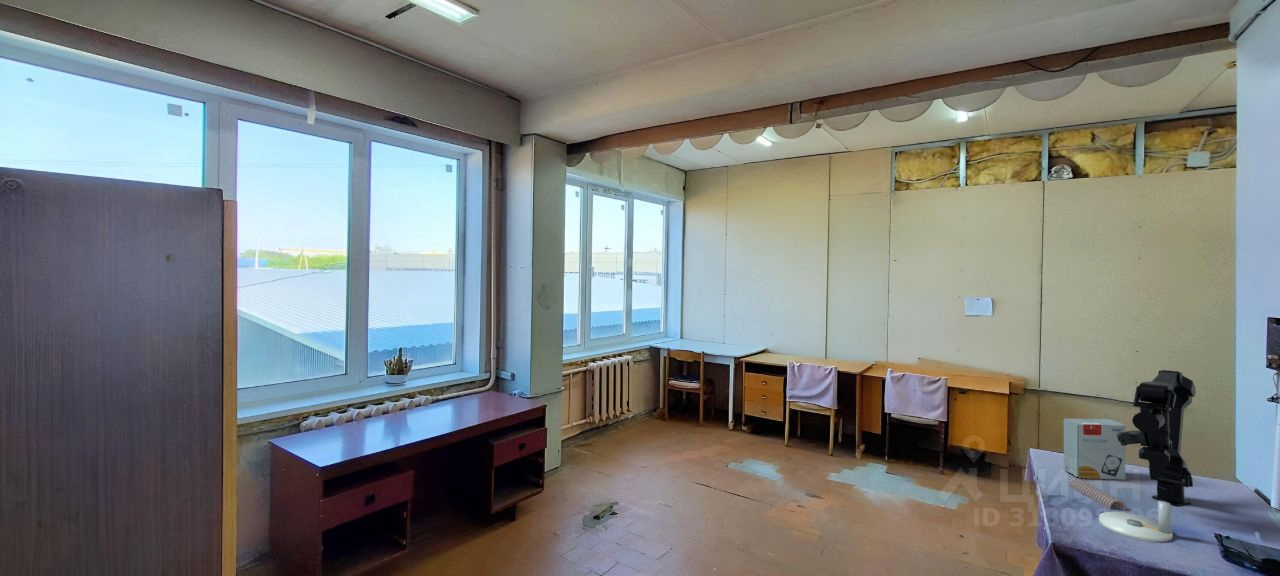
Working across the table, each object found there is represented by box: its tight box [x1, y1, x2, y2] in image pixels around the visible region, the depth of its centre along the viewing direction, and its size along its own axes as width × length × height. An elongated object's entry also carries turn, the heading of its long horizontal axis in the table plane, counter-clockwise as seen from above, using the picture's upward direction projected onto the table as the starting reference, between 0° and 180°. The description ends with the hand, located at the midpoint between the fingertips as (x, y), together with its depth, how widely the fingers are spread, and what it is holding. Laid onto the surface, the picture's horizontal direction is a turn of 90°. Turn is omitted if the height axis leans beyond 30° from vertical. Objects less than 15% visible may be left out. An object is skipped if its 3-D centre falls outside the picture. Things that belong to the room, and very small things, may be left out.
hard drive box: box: [1063, 418, 1126, 481], centre depth 183 cm, size 16×8×20 cm, turn 81°
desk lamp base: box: [1098, 500, 1174, 543], centre depth 144 cm, size 15×15×9 cm
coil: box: [1068, 477, 1127, 511], centre depth 163 cm, size 5×5×18 cm
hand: (1156, 476), depth 152 cm, fingers closed
